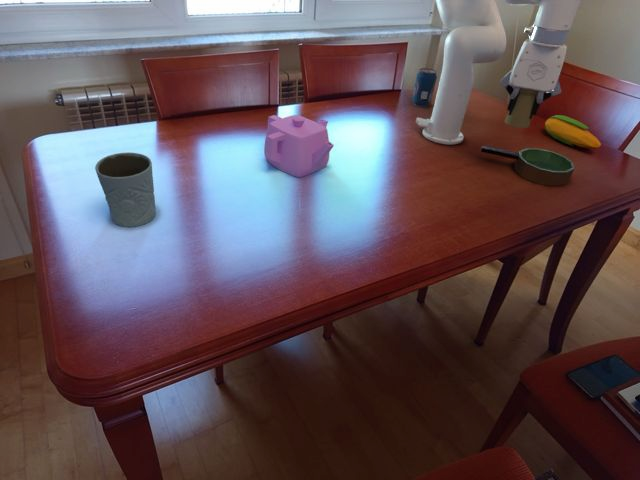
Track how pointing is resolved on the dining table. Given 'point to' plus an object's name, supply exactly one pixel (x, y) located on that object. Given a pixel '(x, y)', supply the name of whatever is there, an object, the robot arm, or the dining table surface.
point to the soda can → (424, 87)
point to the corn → (571, 132)
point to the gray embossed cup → (128, 188)
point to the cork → (522, 109)
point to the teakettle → (297, 144)
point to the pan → (538, 165)
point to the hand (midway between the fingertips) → (520, 114)
